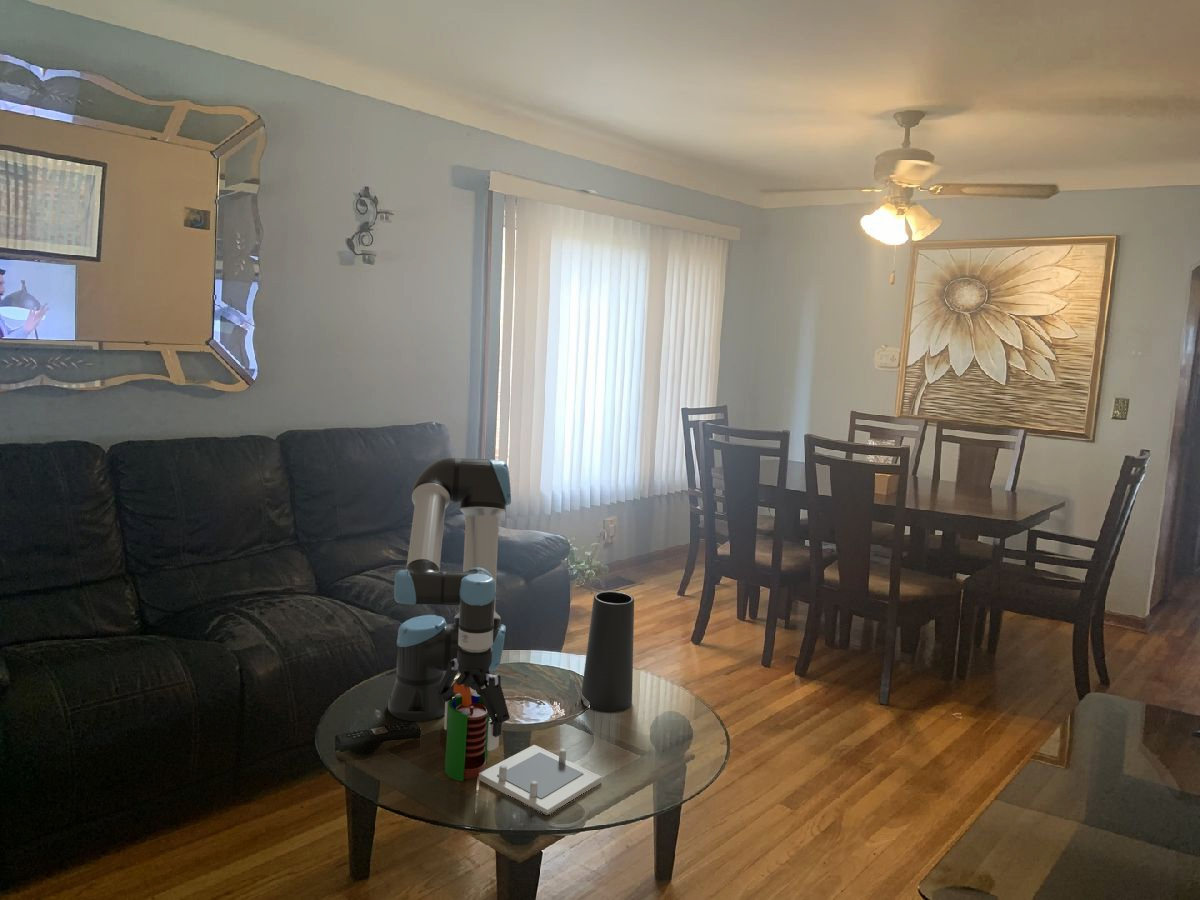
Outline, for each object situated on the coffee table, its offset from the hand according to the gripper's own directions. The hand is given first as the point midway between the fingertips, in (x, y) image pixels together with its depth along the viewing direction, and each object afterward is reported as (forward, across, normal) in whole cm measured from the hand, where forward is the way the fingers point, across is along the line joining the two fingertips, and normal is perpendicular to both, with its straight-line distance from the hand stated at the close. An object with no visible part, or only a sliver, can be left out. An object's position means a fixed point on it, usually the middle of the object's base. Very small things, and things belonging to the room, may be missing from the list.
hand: (470, 738), depth 196 cm
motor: (+8, -2, 0) cm, 8 cm away
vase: (+8, 0, +50) cm, 51 cm away
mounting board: (+8, +14, +8) cm, 18 cm away
